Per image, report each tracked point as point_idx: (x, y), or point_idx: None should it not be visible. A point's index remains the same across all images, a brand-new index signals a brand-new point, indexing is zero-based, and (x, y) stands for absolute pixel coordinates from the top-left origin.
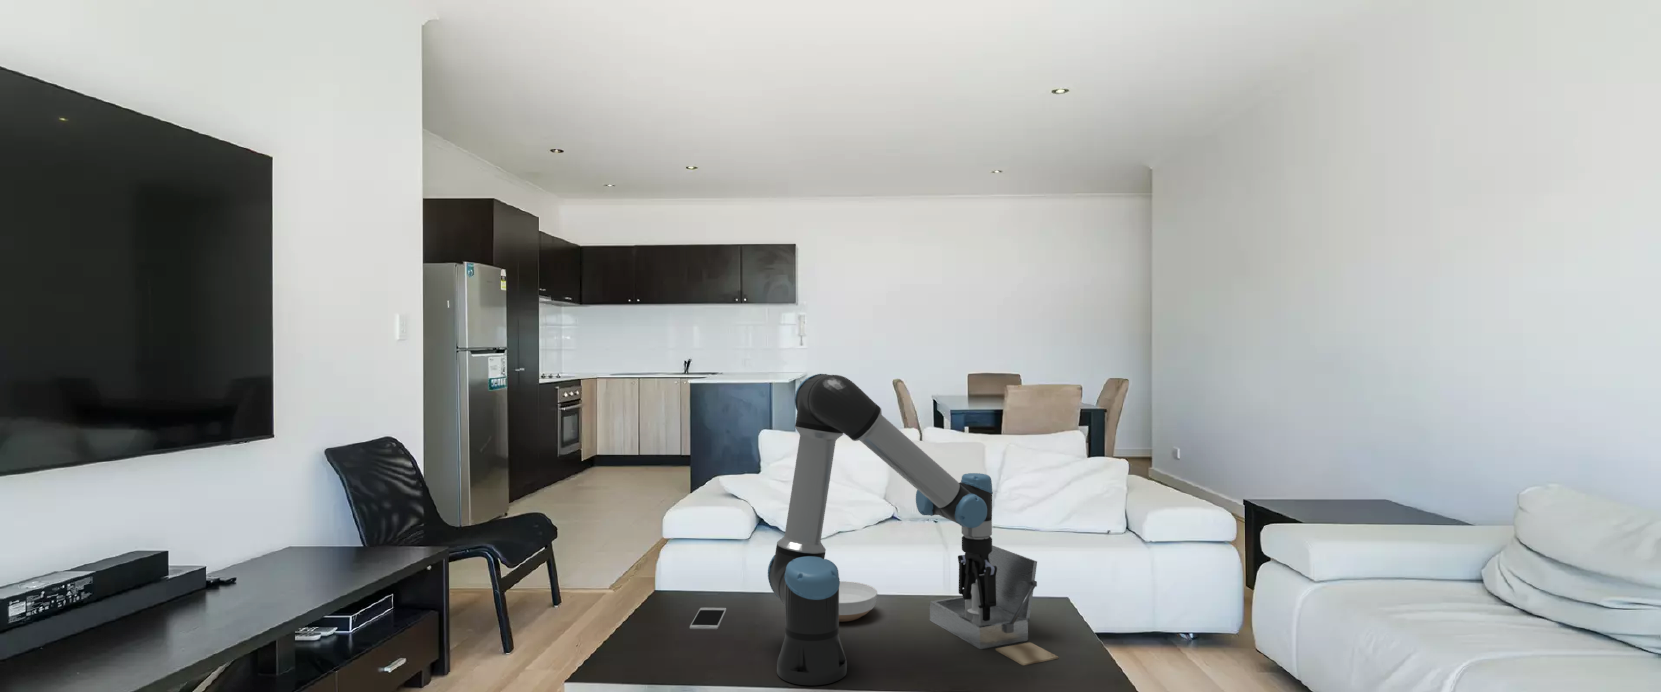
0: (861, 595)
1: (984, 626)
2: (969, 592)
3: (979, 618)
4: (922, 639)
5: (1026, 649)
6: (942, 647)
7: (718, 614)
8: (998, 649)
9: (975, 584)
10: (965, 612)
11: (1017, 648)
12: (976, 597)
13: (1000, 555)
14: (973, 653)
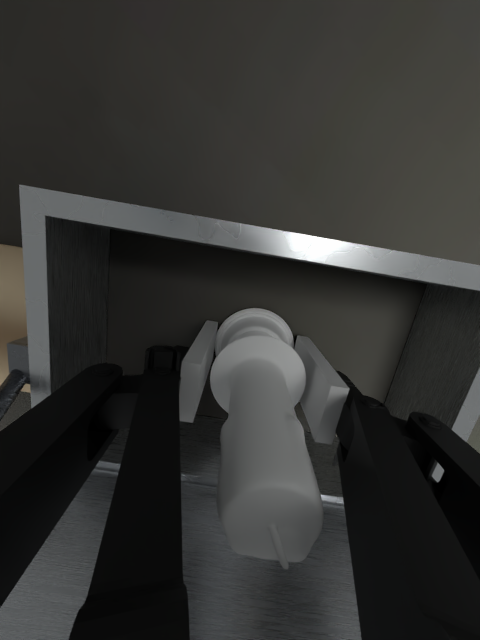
0: None
1: (27, 225)
2: (351, 446)
3: (203, 339)
4: (310, 65)
5: (7, 339)
6: (184, 77)
7: None
8: None
9: (276, 511)
10: (318, 356)
11: (26, 321)
12: (239, 409)
13: None
14: (69, 151)
